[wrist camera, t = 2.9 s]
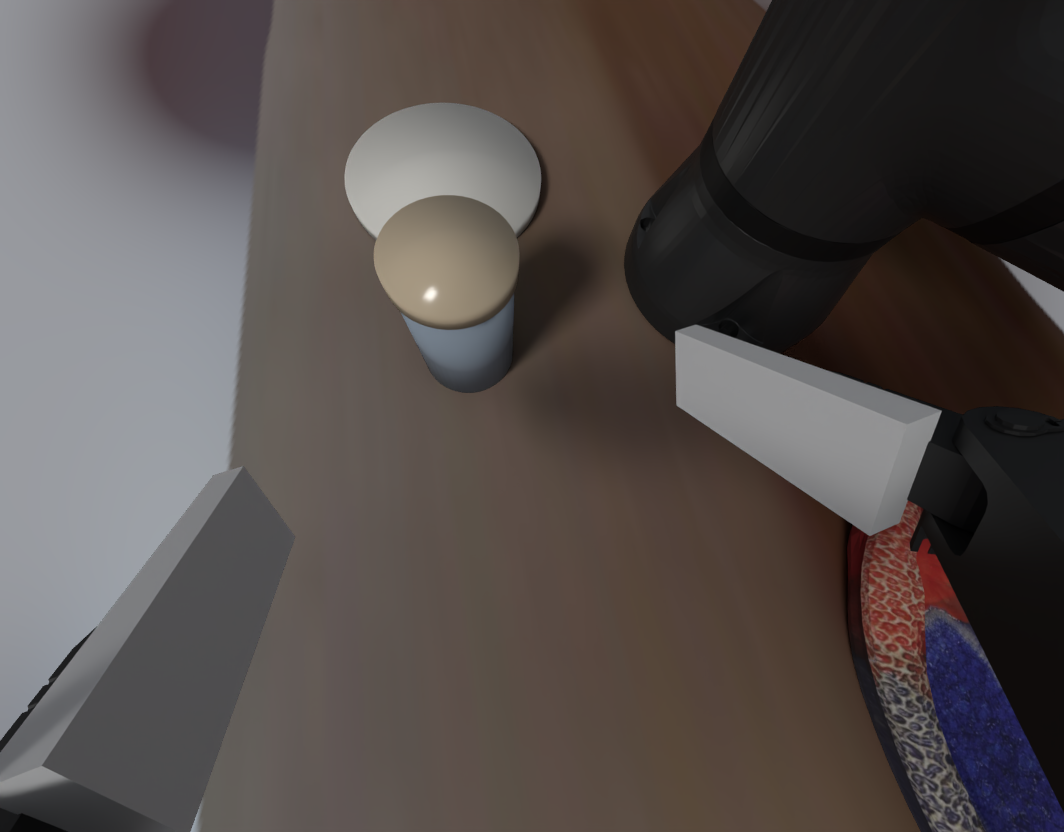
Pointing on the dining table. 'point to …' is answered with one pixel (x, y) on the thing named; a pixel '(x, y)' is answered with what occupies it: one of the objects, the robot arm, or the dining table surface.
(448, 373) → the jar
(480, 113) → the plate
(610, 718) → the dining table surface
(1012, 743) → the dish
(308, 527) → the dining table surface
